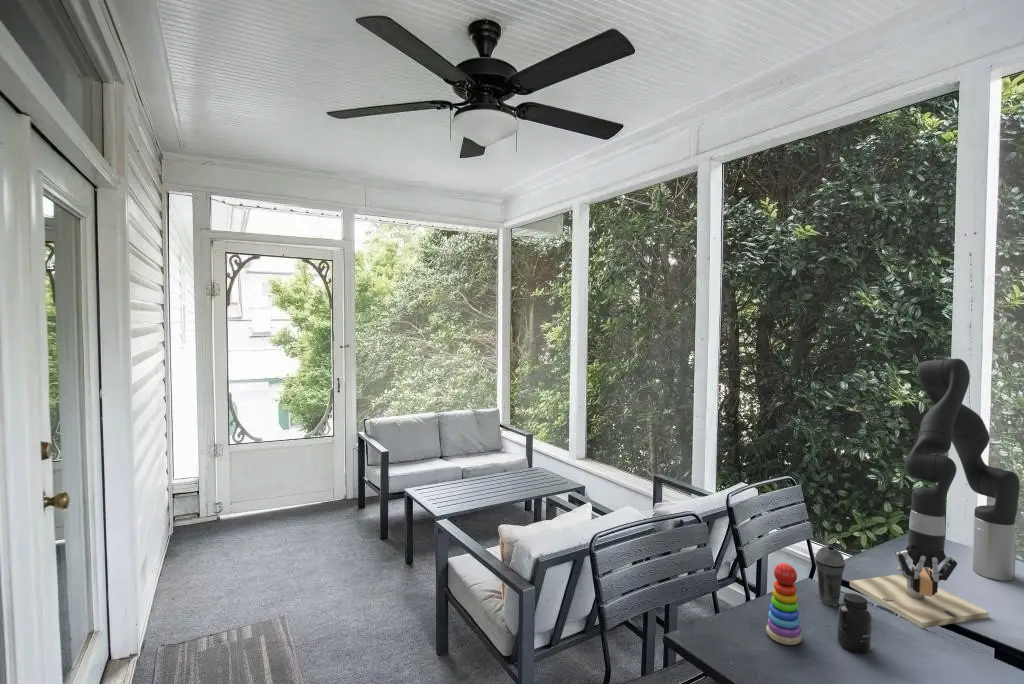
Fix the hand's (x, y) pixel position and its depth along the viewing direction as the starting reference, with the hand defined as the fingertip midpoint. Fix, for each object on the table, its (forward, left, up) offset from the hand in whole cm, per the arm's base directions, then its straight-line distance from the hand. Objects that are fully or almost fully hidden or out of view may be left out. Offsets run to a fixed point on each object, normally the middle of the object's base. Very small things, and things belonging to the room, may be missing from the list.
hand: (923, 591), depth 140 cm
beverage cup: (+19, -11, -7) cm, 23 cm away
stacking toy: (+43, 0, -7) cm, 43 cm away
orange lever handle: (-3, -3, 0) cm, 4 cm away
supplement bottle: (+29, +7, -7) cm, 30 cm away
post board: (-5, -6, -7) cm, 11 cm away
